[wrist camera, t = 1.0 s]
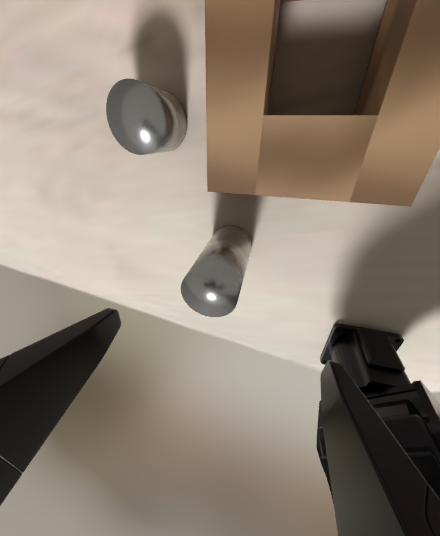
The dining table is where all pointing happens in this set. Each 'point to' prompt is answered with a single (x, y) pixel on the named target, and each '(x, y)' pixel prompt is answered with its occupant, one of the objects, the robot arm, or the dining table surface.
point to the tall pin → (218, 273)
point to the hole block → (322, 126)
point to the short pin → (145, 117)
